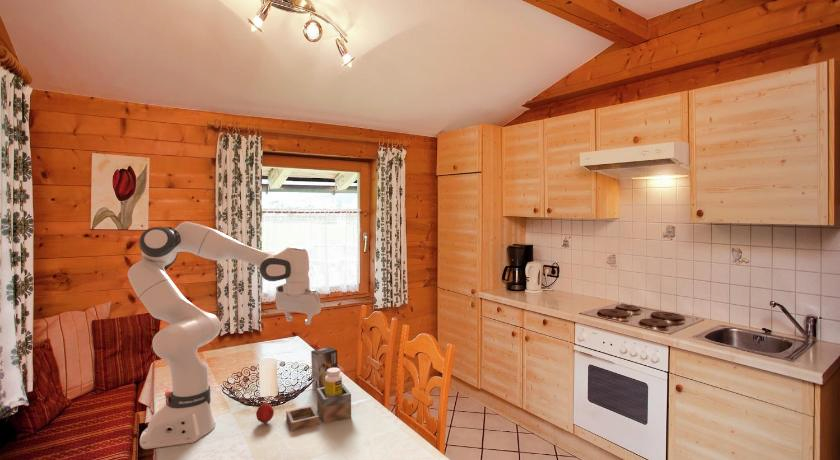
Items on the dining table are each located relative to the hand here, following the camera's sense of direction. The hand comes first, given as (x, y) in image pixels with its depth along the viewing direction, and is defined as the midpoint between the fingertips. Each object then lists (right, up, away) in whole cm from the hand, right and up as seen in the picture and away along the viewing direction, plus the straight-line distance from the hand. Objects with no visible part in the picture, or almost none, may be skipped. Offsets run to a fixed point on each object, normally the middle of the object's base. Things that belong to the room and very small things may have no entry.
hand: (298, 322), depth 173 cm
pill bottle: (+16, -26, -10) cm, 32 cm away
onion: (-7, -33, -16) cm, 37 cm away
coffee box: (+7, -30, +14) cm, 34 cm away
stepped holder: (+10, -32, -12) cm, 36 cm away
